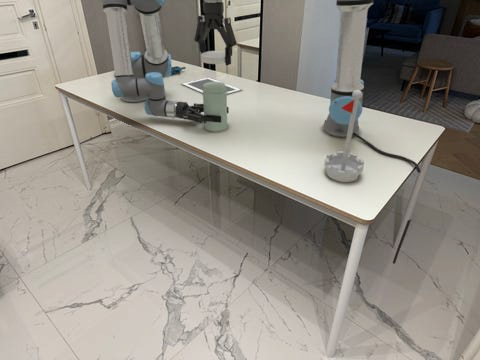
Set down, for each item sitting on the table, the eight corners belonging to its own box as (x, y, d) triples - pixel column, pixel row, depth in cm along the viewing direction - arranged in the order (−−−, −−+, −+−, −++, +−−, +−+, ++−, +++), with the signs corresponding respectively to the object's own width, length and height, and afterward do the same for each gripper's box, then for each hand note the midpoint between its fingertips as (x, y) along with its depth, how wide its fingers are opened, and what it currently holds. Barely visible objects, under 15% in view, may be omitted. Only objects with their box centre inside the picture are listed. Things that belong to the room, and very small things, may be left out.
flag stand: (346, 161, 127) (361, 81, 110) (369, 179, 117) (390, 94, 100) (316, 168, 123) (327, 86, 106) (337, 186, 113) (353, 99, 96)
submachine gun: (171, 61, 241) (190, 66, 224) (171, 66, 243) (190, 72, 226) (125, 69, 222) (142, 76, 205) (126, 75, 224) (143, 82, 207)
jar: (224, 121, 159) (223, 80, 148) (229, 130, 151) (228, 87, 140) (203, 123, 157) (200, 82, 146) (207, 132, 148) (204, 89, 138)
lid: (222, 65, 129) (221, 58, 128) (195, 62, 133) (195, 55, 132) (235, 58, 138) (235, 52, 136) (210, 55, 142) (209, 49, 141)
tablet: (181, 84, 205) (181, 83, 205) (208, 77, 216) (208, 77, 216) (213, 98, 185) (213, 97, 185) (241, 90, 196) (241, 89, 196)
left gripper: (188, 108, 165) (232, 113, 161) (168, 127, 147) (216, 133, 142) (187, 93, 161) (231, 97, 156) (166, 111, 143) (216, 116, 138)
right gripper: (246, 2, 121) (246, 64, 133) (194, -2, 132) (198, 56, 144) (234, 4, 116) (235, 68, 128) (181, 0, 127) (187, 60, 139)
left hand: (224, 114), depth 149 cm, fingers closed on jar, 10 cm apart
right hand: (216, 62), depth 136 cm, fingers closed on lid, 11 cm apart
